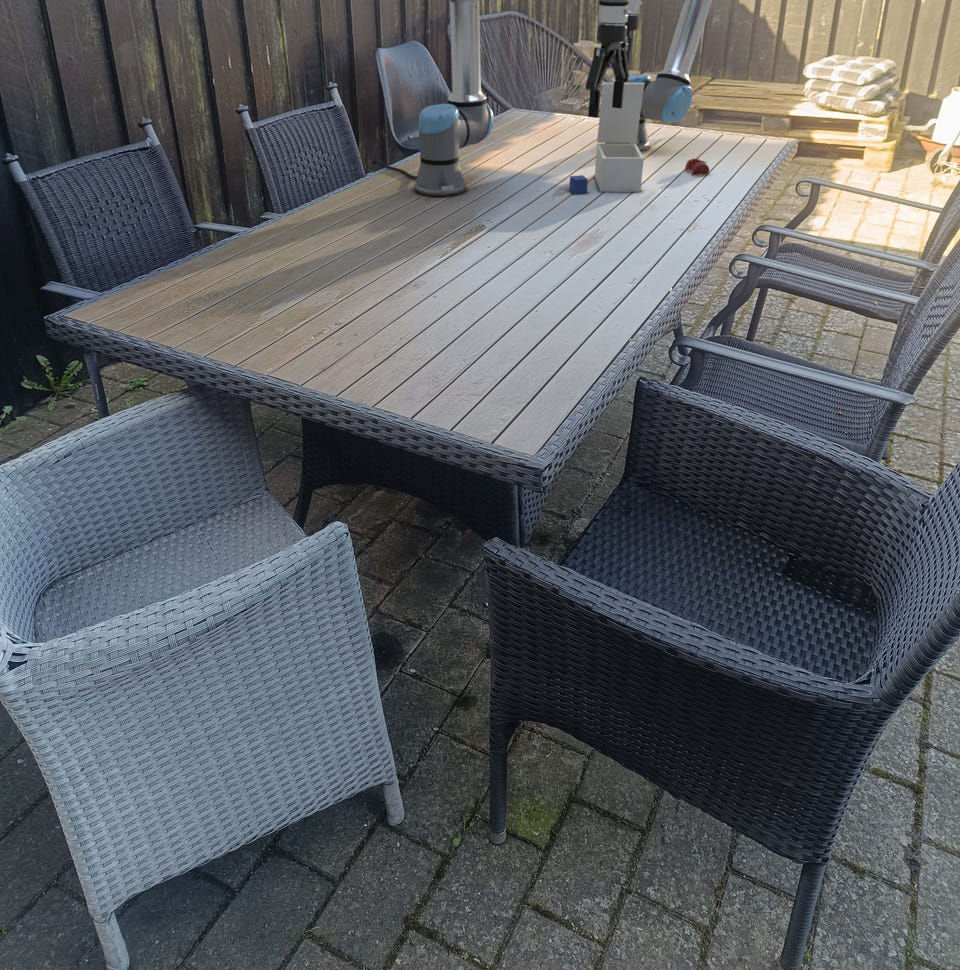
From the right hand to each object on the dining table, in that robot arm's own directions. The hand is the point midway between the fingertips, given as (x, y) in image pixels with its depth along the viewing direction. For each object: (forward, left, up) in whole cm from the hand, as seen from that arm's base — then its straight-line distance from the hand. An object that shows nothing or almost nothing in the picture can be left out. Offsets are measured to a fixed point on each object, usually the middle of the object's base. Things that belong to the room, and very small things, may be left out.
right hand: (618, 100), depth 261 cm
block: (+23, -9, -22) cm, 33 cm away
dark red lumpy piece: (-5, +27, -22) cm, 35 cm away
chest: (+12, +2, -22) cm, 25 cm away
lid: (+6, +1, -3) cm, 7 cm away
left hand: (+38, -1, +4) cm, 39 cm away
